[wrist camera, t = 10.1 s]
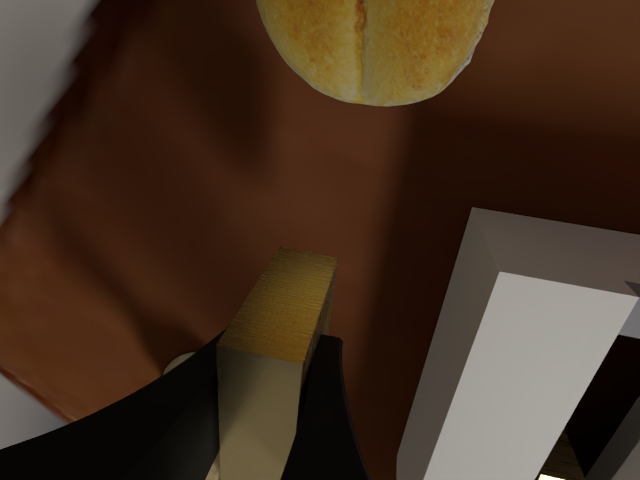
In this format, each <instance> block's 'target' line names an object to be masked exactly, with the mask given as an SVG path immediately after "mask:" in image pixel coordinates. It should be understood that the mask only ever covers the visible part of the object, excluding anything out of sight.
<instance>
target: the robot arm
mask: <svg viewBox="0 0 640 480" xmlns="http://www.w3.org/2000/svg"><path fill="white" fill-rule="evenodd" d="M227 328H228V327H227ZM227 328H226V329H227ZM226 329H225V330H224V331H222V332H221V333H220V334H219V335H217V336H216V337H215V338H214V339H212V340H211V341H210V342H209V343H207V344H206V345H205V346H203V347H202V348H201V349H199V350H198V351H197V352H195V353H194V354H193V355H191V356H190V357H189V358H187V359H186V360H185V361H183V362H182V363H180V364H179V365H177V366H176V367H174V368H173V369H171V370H170V371H168V372H167V373H166V374H164V375H162V376H161V377H159V378H158V379H156V380H155V381H153V382H151V383H150V384H148V385H146V386H145V387H143V388H141V389H139V390H138V391H136V392H134V393H132V394H131V395H129V396H127V397H125V398H123V399H121V400H119V401H117V402H115V403H113V404H111V405H109V406H107V407H105V408H103V409H101V410H99V411H97V412H95V413H93V414H91V415H89V416H86V417H84V418H82V419H80V420H77V421H75V422H73V423H70V424H68V425H65V426H63V427H61V428H58V429H56V430H53V431H51V432H48V433H46V434H43V435H40V436H38V437H35V438H32V439H29V440H26V441H23V442H21V443H18V444H15V445H12V446H9V447H6V448H4V449H1V450H0V480H205V479H206V477H207V475H208V473H209V471H210V469H211V466H212V464H213V462H214V461H215V459H216V457H217V455H218V453H219V451H220V443H219V412H218V382H217V351H216V345H217V343H218V342H219V340H220V339H221V337H222V336H223V334H224V332H225V331H226ZM342 345H343V341H342V340H341V339H340V338H338V337H333V336H328V335H324V334H321V336H320V339H319V341H318V344H317V346H316V349H315V352H314V356H313V361H312V367H311V372H310V378H309V383H308V389H307V394H306V400H305V404H304V408H303V413H302V416H301V419H300V422H299V425H298V428H297V432H296V435H295V438H294V441H293V444H292V447H291V450H290V453H289V456H288V459H287V462H286V465H285V468H284V470H283V473H282V476H281V479H280V480H371V479H370V476H369V474H368V471H367V468H366V466H365V463H364V460H363V457H362V454H361V451H360V448H359V444H358V441H357V438H356V435H355V431H354V427H353V423H352V419H351V415H350V411H349V407H348V402H347V397H346V391H345V384H344V378H343V368H342Z"/></svg>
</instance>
